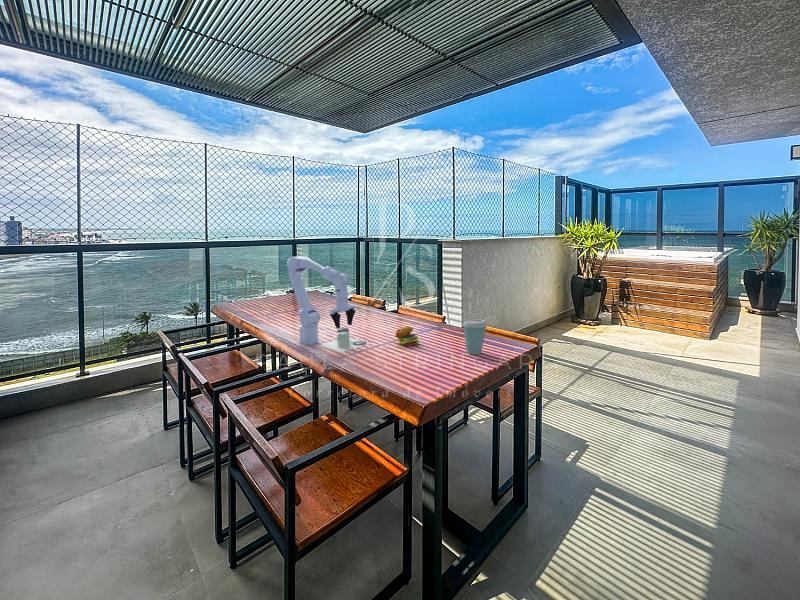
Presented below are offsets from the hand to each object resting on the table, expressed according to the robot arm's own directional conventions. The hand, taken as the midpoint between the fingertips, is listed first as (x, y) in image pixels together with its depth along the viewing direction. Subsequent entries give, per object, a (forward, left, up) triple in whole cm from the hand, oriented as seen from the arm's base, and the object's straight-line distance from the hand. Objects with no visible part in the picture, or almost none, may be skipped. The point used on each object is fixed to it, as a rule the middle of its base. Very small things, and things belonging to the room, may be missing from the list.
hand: (343, 326), depth 182 cm
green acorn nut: (-1, 0, -10) cm, 10 cm away
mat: (-2, +2, -10) cm, 10 cm away
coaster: (+3, +7, -10) cm, 12 cm away
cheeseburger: (+21, +22, -10) cm, 32 cm away
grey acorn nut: (-8, +6, -10) cm, 14 cm away
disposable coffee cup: (+54, +30, -10) cm, 63 cm away
